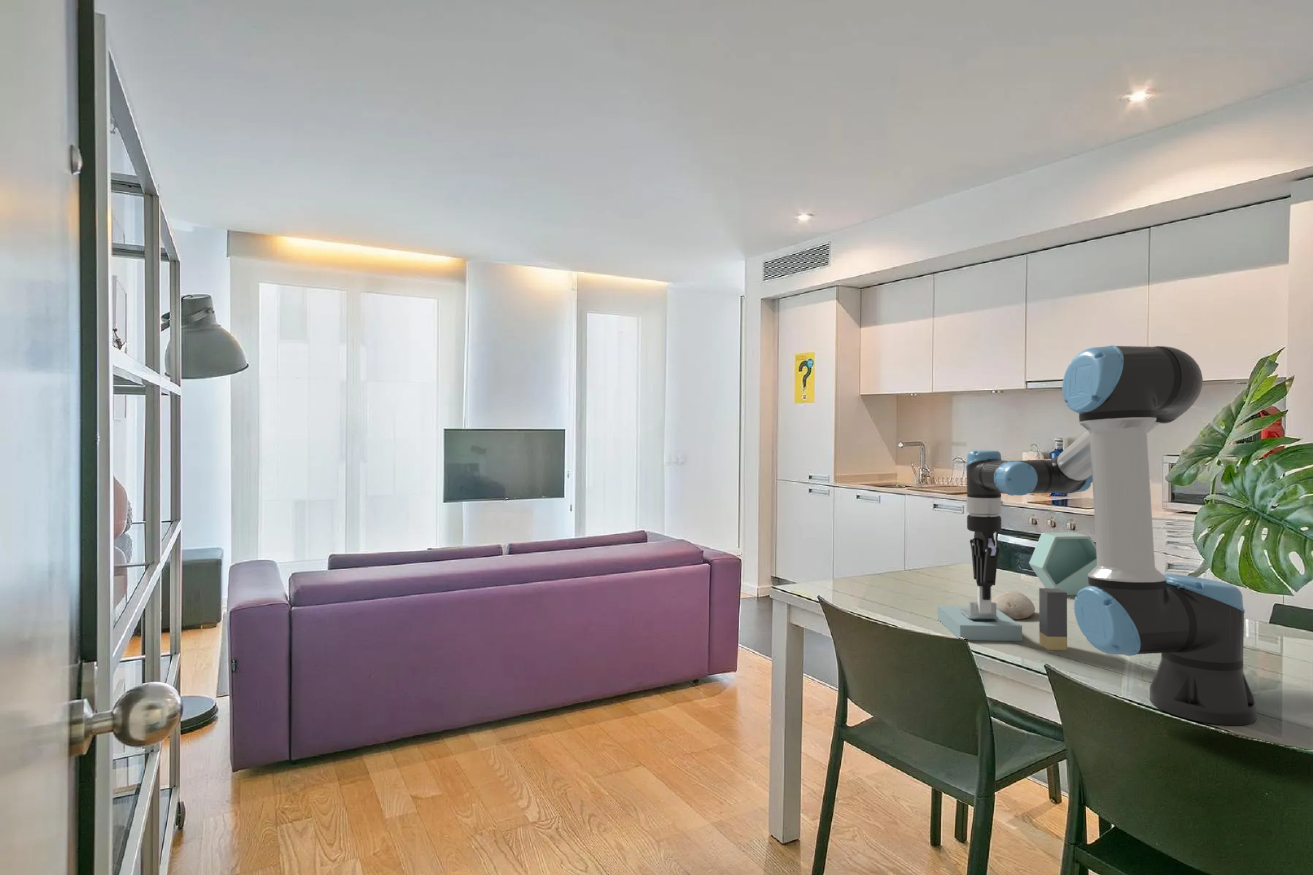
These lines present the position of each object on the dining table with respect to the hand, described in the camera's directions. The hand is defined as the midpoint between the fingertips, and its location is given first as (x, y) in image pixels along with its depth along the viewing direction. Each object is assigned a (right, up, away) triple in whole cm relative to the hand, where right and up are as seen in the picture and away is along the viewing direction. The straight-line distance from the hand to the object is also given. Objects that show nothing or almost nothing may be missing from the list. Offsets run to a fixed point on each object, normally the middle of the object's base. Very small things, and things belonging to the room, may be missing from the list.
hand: (984, 612), depth 173 cm
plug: (+11, -6, -10) cm, 16 cm away
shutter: (0, -2, +4) cm, 4 cm away
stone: (+16, -6, +19) cm, 25 cm away
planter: (+44, -5, +42) cm, 62 cm away
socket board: (+1, -6, +5) cm, 7 cm away
